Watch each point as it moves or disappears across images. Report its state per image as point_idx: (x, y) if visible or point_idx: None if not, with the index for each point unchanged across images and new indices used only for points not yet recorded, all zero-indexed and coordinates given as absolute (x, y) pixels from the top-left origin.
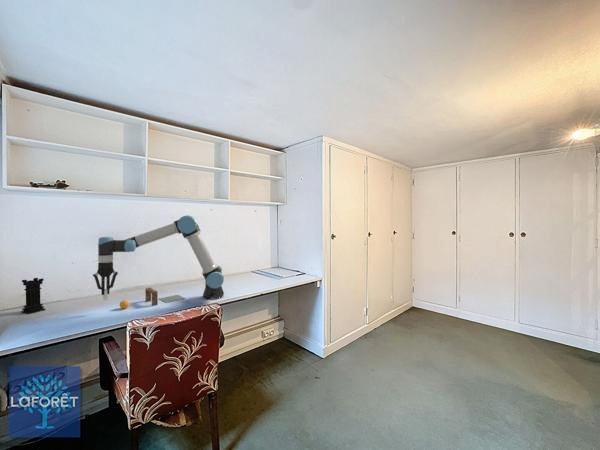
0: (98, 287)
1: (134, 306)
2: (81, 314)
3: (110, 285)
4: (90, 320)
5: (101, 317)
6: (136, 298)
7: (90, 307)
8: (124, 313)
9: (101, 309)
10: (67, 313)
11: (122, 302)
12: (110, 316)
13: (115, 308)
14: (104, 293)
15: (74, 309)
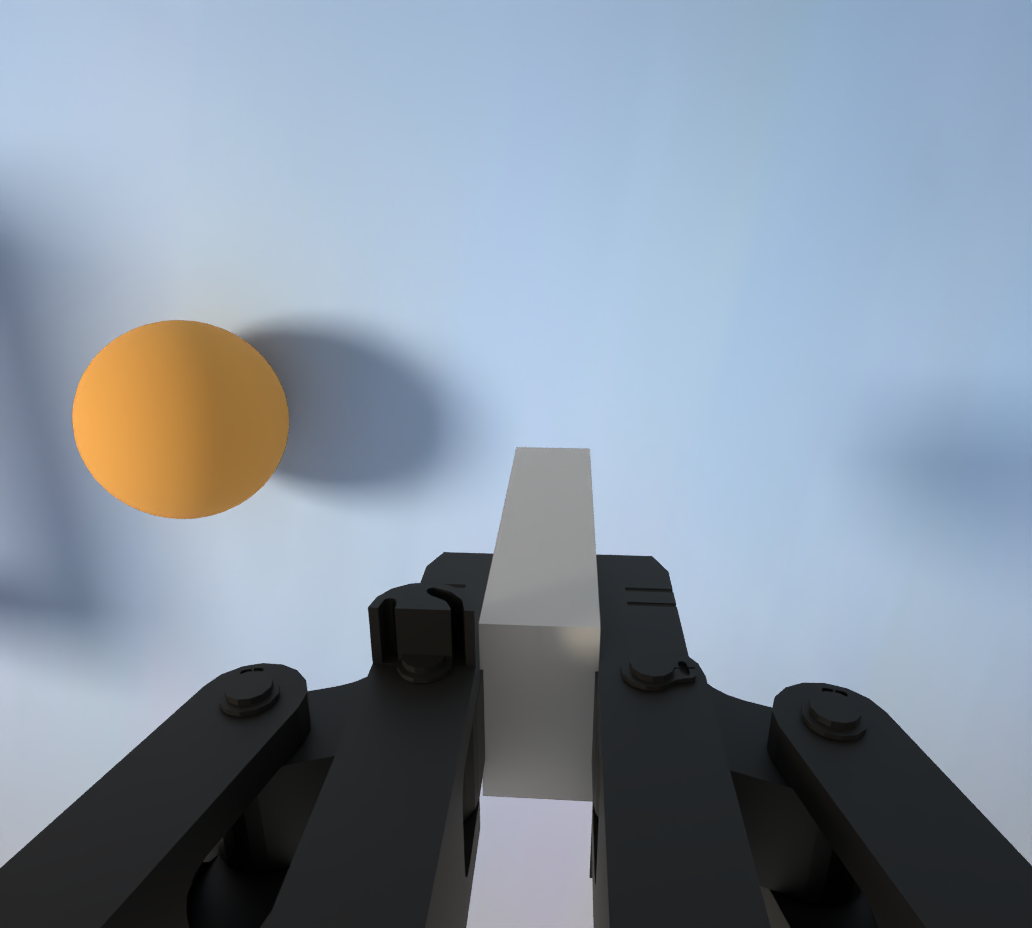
0: (925, 772)
1: (55, 394)
2: (888, 576)
3: (286, 857)
4: (919, 29)
5: (699, 85)
6: (6, 836)
7: None
8: (270, 13)
9: None
10: (1010, 779)
11: (203, 390)
12: (545, 10)
13: (367, 519)
14: (595, 549)
15: None
